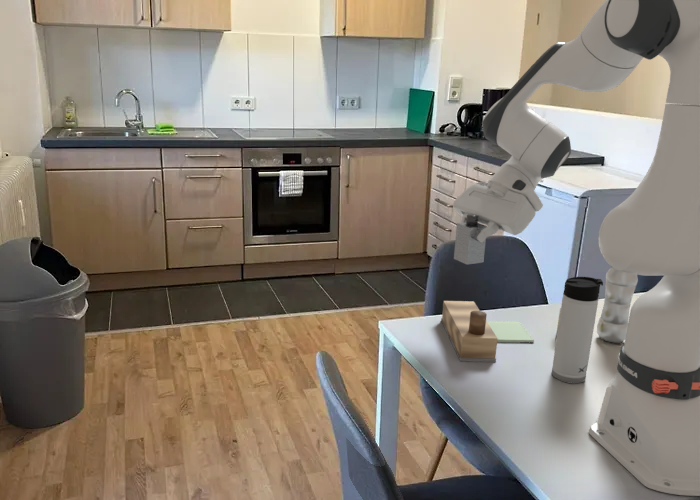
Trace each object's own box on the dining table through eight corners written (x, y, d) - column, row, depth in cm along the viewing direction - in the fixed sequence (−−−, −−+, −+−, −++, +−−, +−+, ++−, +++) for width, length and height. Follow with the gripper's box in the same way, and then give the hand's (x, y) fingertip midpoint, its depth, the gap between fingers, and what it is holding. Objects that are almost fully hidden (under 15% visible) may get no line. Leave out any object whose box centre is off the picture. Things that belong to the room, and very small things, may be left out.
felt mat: (533, 342, 137) (534, 340, 137) (488, 342, 137) (488, 339, 137) (519, 324, 147) (519, 321, 147) (477, 323, 146) (477, 320, 146)
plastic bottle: (621, 334, 143) (636, 250, 137) (630, 347, 137) (646, 259, 131) (591, 332, 144) (605, 248, 138) (599, 345, 137) (614, 257, 132)
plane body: (495, 361, 128) (500, 320, 125) (460, 361, 127) (464, 319, 125) (471, 321, 147) (475, 284, 145) (441, 320, 147) (444, 283, 144)
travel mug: (589, 386, 120) (606, 286, 114) (553, 381, 121) (567, 282, 115) (584, 371, 125) (600, 275, 120) (550, 366, 127) (563, 271, 121)
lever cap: (483, 262, 136) (488, 216, 134) (466, 264, 134) (471, 218, 131) (470, 256, 140) (474, 212, 137) (453, 258, 138) (457, 213, 135)
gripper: (471, 171, 144) (432, 216, 143) (535, 187, 127) (492, 239, 125) (484, 189, 148) (447, 234, 146) (549, 207, 130) (507, 258, 129)
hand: (468, 236), depth 135 cm, fingers closed on lever cap, 4 cm apart
